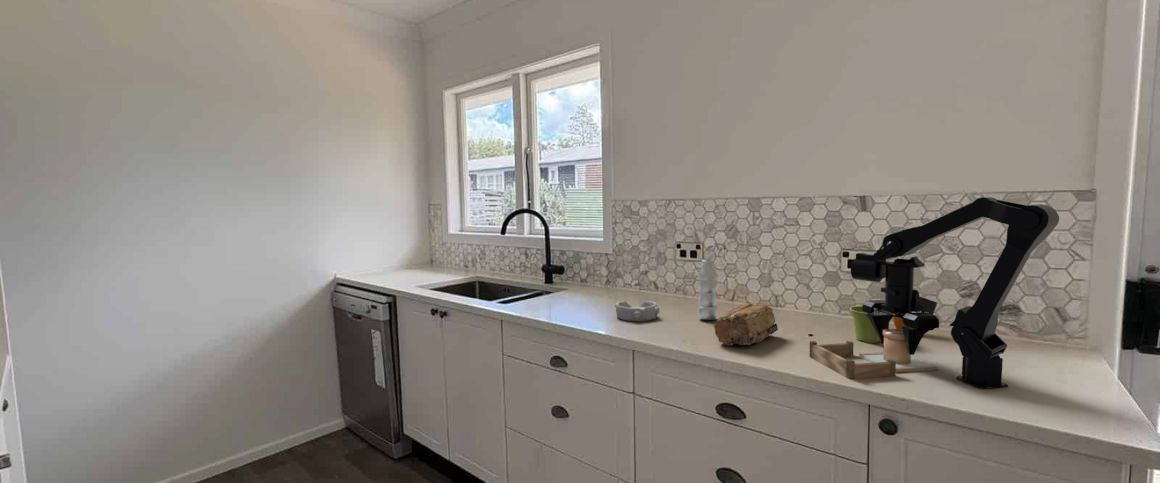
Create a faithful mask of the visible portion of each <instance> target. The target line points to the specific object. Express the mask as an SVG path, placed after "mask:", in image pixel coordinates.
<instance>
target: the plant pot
mask: <svg viewBox="0 0 1160 483" xmlns="http://www.w3.org/2000/svg"><path fill="white" fill-rule="evenodd" d="M862 306H863V305H854V306H851V307H850V308H849V311H851V316H852V319H853V326H854V335H855V339H856V340H857V341H863V342H864V343H871V344H875V343H876V344H877V343H879V342H881V341H880V339H879V337H878V335H877V333H876V331H875V329H874V327H873V325H872V323H871V321H870V320H869V318H868V316H866V312H863V311H862Z"/></svg>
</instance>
